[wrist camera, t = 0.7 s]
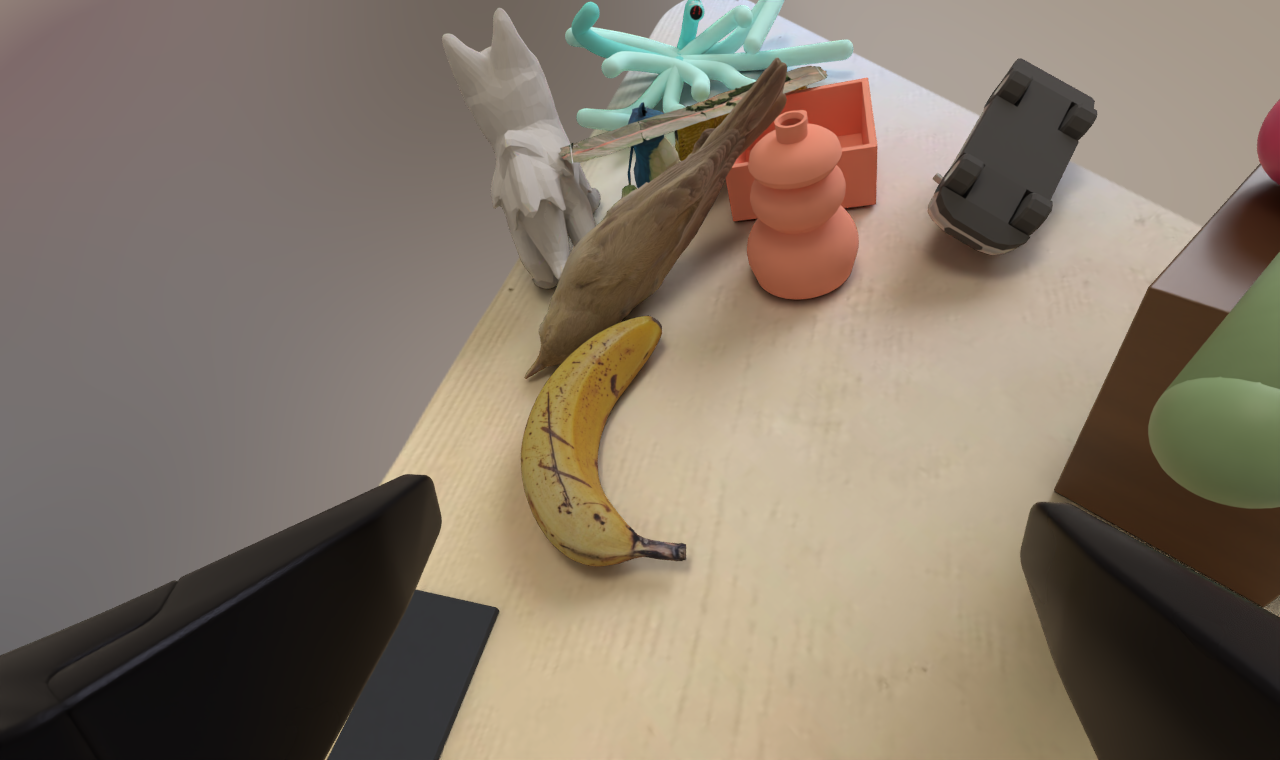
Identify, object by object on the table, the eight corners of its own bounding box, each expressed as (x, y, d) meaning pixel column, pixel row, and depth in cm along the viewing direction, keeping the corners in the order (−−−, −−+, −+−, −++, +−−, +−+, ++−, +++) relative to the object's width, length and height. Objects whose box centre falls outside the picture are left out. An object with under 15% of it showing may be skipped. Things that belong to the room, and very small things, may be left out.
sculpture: (763, 109, 42) (818, 115, 39) (545, 388, 42) (579, 421, 38) (721, 33, 38) (777, 32, 34) (477, 342, 38) (508, 374, 34)
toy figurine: (682, 241, 43) (656, 144, 38) (627, 247, 44) (594, 154, 39) (700, 150, 50) (681, 58, 45) (652, 158, 52) (628, 69, 46)
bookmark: (554, 152, 40) (553, 145, 39) (809, 67, 46) (810, 60, 45) (573, 169, 38) (572, 161, 37) (834, 78, 44) (835, 70, 44)
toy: (596, 160, 53) (514, -24, 42) (626, 297, 41) (520, 85, 30) (530, 188, 54) (433, 15, 43) (540, 330, 42) (406, 136, 31)
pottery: (741, 152, 49) (721, 22, 42) (867, 132, 46) (869, -11, 39) (722, 309, 38) (691, 168, 30) (886, 296, 35) (894, 137, 28)
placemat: (393, 871, 23) (387, 871, 23) (298, 829, 25) (292, 827, 25) (499, 610, 29) (496, 607, 28) (416, 591, 31) (412, 588, 30)
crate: (1263, 608, 21) (1529, 410, 13) (1053, 491, 26) (1147, 287, 17) (1365, 450, 23) (1648, 195, 15) (1156, 368, 28) (1284, 135, 19)
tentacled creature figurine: (550, -70, 44) (594, -64, 58) (532, 127, 52) (575, 89, 67) (883, 12, 44) (844, -2, 59) (814, 195, 52) (795, 143, 67)
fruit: (689, 574, 27) (674, 545, 25) (508, 574, 30) (480, 548, 27) (703, 329, 37) (693, 293, 35) (566, 345, 39) (549, 311, 37)
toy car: (1041, 245, 31) (979, 289, 35) (1118, 85, 35) (1053, 144, 39) (941, 186, 31) (893, 237, 36) (1028, 35, 35) (975, 99, 40)
